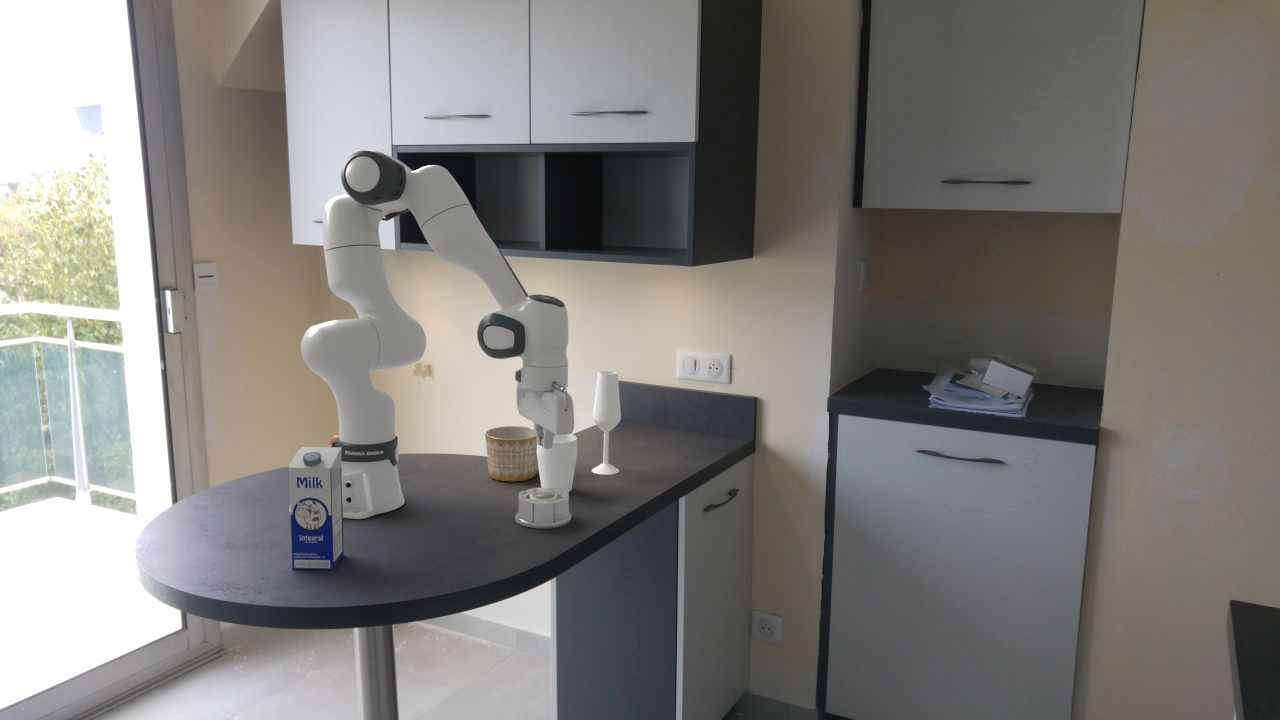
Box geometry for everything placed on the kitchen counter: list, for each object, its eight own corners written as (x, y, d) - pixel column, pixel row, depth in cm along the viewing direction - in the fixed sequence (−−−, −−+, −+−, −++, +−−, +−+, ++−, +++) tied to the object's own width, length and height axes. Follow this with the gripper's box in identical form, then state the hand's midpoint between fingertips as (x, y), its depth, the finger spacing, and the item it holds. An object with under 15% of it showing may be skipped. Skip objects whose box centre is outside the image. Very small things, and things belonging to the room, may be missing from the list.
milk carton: (344, 555, 161) (342, 446, 157) (333, 570, 154) (330, 456, 151) (304, 554, 160) (300, 445, 157) (291, 569, 154) (287, 455, 151)
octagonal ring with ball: (514, 529, 176) (514, 504, 175) (516, 510, 187) (516, 487, 186) (572, 528, 177) (572, 504, 177) (570, 509, 188) (570, 486, 188)
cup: (570, 498, 196) (571, 444, 194) (530, 494, 198) (531, 441, 196) (581, 486, 205) (582, 434, 203) (543, 482, 206) (543, 431, 204)
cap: (536, 520, 178) (537, 500, 178) (525, 512, 183) (525, 492, 182) (561, 516, 181) (562, 496, 181) (549, 508, 186) (549, 488, 185)
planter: (531, 486, 204) (531, 441, 202) (477, 481, 206) (477, 437, 204) (545, 470, 216) (546, 427, 214) (495, 466, 218) (495, 424, 216)
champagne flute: (609, 476, 213) (611, 376, 209) (585, 471, 216) (588, 372, 212) (624, 469, 218) (627, 372, 214) (601, 465, 222) (603, 368, 218)
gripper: (583, 386, 170) (581, 457, 172) (539, 368, 188) (538, 433, 190) (552, 389, 167) (551, 461, 169) (511, 370, 185) (510, 436, 187)
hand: (544, 446), depth 180 cm, fingers closed
